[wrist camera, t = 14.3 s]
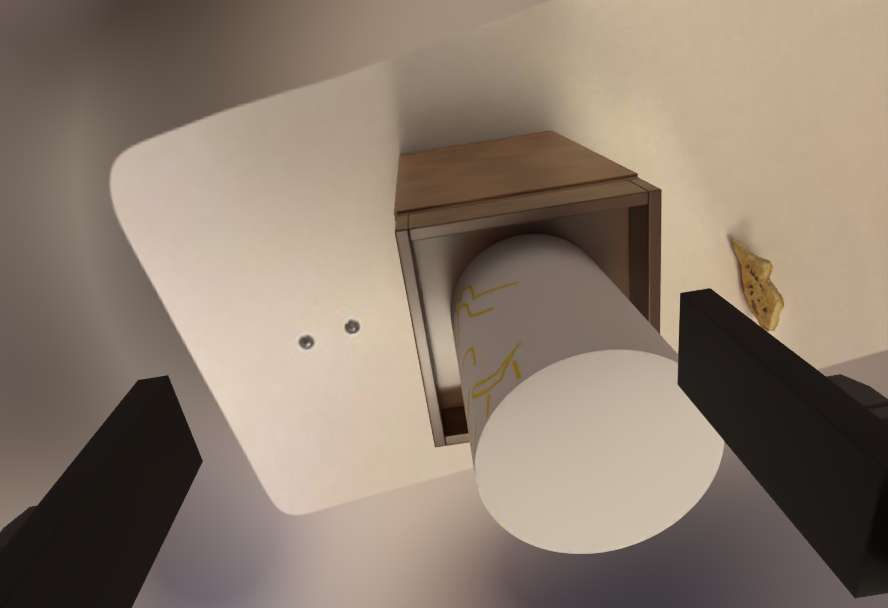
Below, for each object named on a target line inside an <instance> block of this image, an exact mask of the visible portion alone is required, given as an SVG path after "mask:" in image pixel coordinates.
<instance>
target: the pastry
mask: <svg viewBox="0 0 888 608" xmlns="http://www.w3.org/2000/svg"><path fill="white" fill-rule="evenodd" d="M733 246H734V250H735V253H736V256H737V258H738V260H739V262H740V264H741V267H742V280H743V285H744V294H745V296H746V298H747V301H748V303H749V307H750V308H751V310H752V312H753V314H754V316H755V317H756V319H757V320H758V322H759V324H760V326H761V328H763V329H764V330H766V331H774V330H775V328H776V327H777V326H778V323H779V320H780V313H781V310H782V309H783V306H784V301H783V298H782V295H781V294H780V293H779V292H778V290H777V288H776V287H775V285H774V284H773V283H772V282H771V281H770V278H769V276H770V275H771V272H772V269H773V266H772V263H771V262H770V261H769V260H766V259H763V258H760V257H758V256H757V255H755V254H753V253H751V252H749V251H748V250H747V249H746V248H745V247H744V246H743V245H742V244H741V243H740V242H739V241H737V240H735V239H734V240H733Z"/></svg>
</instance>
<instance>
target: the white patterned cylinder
mask: <svg viewBox="0 0 888 608" xmlns="http://www.w3.org/2000/svg"><path fill="white" fill-rule="evenodd" d="M451 323H452V330H453V336H454V343H455V349H456V355H457V362H458V368H459V375H460V381H461V388H462V394H463V401H464V407H465V413H466V420H467V426H468V433H469V439H470V446H471V452H472V458H473V465H474V471H475V478H476V483H477V488H478V491H479V494H480V497H481V499H482V501H483V503H484V505H485V507H486V508H487V510H488V511H489V513H490V514H491V516H492V517H493V518H494V519H495V520H496V521H497V522H498V523H499V524H500V525H501V526H502V527H503V528H504V529H505V530H507V531H508V532H509V533H511V534H512V535H514V536H515V537H517V538H519V539H521V540H522V541H525V542H526V543H529V544H531V545H534V546H536V547H539V548H543V549H546V550H550V551H556V552H562V553H573V554H575V553H576V554H589V553H600V552H607V551H612V550H616V549H620V548H624V547H627V546H630V545H633V544H636V543H639V542H641V541H644V540H646V539H648V538H650V537H652V536H654V535H656V534H658V533H660V532H661V531H663V530H665V529H666V528H668V527H669V526H671V525H672V524H674V523H675V522H676V521H677V520H679V519H680V518H681V517H683V516H684V515H685V514H686V513H687V512H688V511H689V510H690V509H691V508H692V507H693V506H694V505H695V504H696V503H697V502H698V501H699V500H700V498H701V497H702V496H703V494H704V493H705V492H706V490H707V489H708V487H709V486H710V484H711V482H712V480H713V478H714V476H715V474H716V472H717V470H718V467H719V465H720V461H721V458H722V453H723V448H724V440H723V439H722V438H721V436H720V435H719V434H718V433H717V432H716V430H715V429H714V428H713V427H712V426H711V424H710V423H709V422H708V421H707V420H706V418H705V417H704V416H703V415H702V414H701V412H700V411H699V410H698V409H697V408H696V406H695V405H694V404H693V403H692V402H691V400H690V399H689V398H688V397H687V396H686V394H685V393H684V392H683V391H682V390H681V388H680V387H679V386H678V385H677V382H678V354H677V353H676V352H675V351H674V349H673V348H672V347H671V346H670V345H669V344H668V343H667V342H666V341H665V340H664V338H663V337H662V336H661V335H660V334H659V333H658V332H657V331H656V330H655V328H654V327H653V326H652V325H651V324H650V323H649V322H648V321H647V320H646V319H645V317H644V316H643V315H642V314H641V313H640V312H639V311H638V310H637V309H636V307H635V306H634V305H633V304H632V303H631V302H630V301H629V300H628V299H627V297H626V296H625V295H624V294H623V293H622V292H621V291H620V290H619V289H618V288H617V286H616V285H615V284H614V283H613V282H612V281H611V280H610V279H609V278H608V276H607V275H606V274H605V273H604V272H603V271H602V270H601V269H600V268H599V267H598V265H597V264H596V263H595V262H594V261H593V260H592V259H591V258H590V257H589V256H588V255H587V254H586V253H585V252H584V251H583V250H582V249H580V248H579V247H578V246H576V245H575V244H573V243H571V242H569V241H567V240H564V239H562V238H559V237H555V236H551V235H544V234H526V235H519V236H514V237H511V238H507V239H505V240H502V241H500V242H498V243H496V244H494V245H492V246H490V247H488V248H487V249H485V250H484V251H483V252H481V253H480V254H479V255H478V256H477V257H475V258H474V259H473V260H472V261H471V262H470V264H469V265H468V266H467V267H466V268H465V270H464V271H463V273H462V274H461V276H460V278H459V280H458V282H457V284H456V286H455V289H454V292H453V296H452V300H451Z"/></svg>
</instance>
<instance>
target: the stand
mask: <svg viewBox="0 0 888 608" xmlns="http://www.w3.org/2000/svg"><path fill="white" fill-rule="evenodd" d="M633 176H636V177H638V174H637V173H635V172H633V171H631V170H629V169H627V168H625V167H623V166H621V165H619V164H617V163H615V162H613V161H611V160H609V159H607V158H605V157H603V156H601V155H599V154H597V153H595V152H594V151H592V150H590V149H588V148H586V147H584V146H582V145H580V144H578V143H576V142H574V141H572V140H570V139H568V138H566V137H564V136H562V135H560V134H558V133H556V132H554V131H546V132H540V133H534V134H527V135H521V136H515V137H508V138H502V139H496V140H489V141H483V142H477V143H470V144H464V145H457V146H451V147H445V148H438V149H432V150H426V151H419V152H413V153H407V154H400V158H399V168H398V178H397V188H396V197H395V207H394V215H395V221H396V215H397V214H398V213H404V212H410V211H416V210H423V209H429V208H436V207H442V206H448V205H455V204H461V203H468V202H474V201H480V200H487V199H493V198H499V197H506V196H512V195H519V194H525V193H531V192H538V191H544V190H550V189H557V188H563V187H570V186H576V185H582V184H589V183H595V182H601V181H608V180H614V179H621V178H627V177H633Z"/></svg>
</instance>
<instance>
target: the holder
mask: <svg viewBox="0 0 888 608" xmlns="http://www.w3.org/2000/svg"><path fill="white" fill-rule="evenodd" d="M526 234H544V235H551V236H555V237H559V238H562V239H564V240H567V241H569V242H571V243H573V244H575V245H576V246H578V247H579V248H580V249H582V250H583V251H584V252H585V253H586V254H587V255H588V256H589V257H590V258H591V259H592V260H593V261H594V262H595V263H596V264H597V265H598V267H599V268H600V269H601V270H602V271H603V272H604V273H605V274H606V275H607V276H608V278H609V279H610V280H611V281H612V282H613V283H614V284H615V285H616V286H617V288H618V289H619V290H620V291H621V292H622V293H623V294H624V295H625V296H626V297H627V299H628V300H629V301H630V302H631V303H632V304H633V305H634V306H635V307H636V309H637V310H638V311H639V312H640V313H641V314H642V315H643V316H644V317H645V319H646V320H647V321H648V322H649V323H650V324H651V325H652V326H653V327H654V328H655V330H656V331H657V332H658V333H659V334H660V281H661V189H659V188H657V187H655V186H654V185H652V184H650V183H648V182H646V181H644V180H642V179H640V178H638V177H636V176H633V177H627V178H621V179H614V180H608V181H601V182H595V183H589V184H582V185H576V186H570V187H563V188H557V189H550V190H544V191H538V192H531V193H525V194H519V195H512V196H506V197H499V198H493V199H487V200H480V201H474V202H468V203H461V204H455V205H448V206H442V207H436V208H429V209H423V210H416V211H410V212H404V213H398V214H397V215H396V225H395V235H396V241H397V246H398V252H399V257H400V262H401V268H402V273H403V278H404V284H405V289H406V294H407V300H408V305H409V310H410V316H411V321H412V327H413V332H414V337H415V343H416V348H417V353H418V359H419V364H420V369H421V375H422V380H423V386H424V391H425V396H426V402H427V407H428V412H429V418H430V423H431V428H432V434H433V439H434V444H435V447H441V446H446V445H447V446H448V445H455V444H461V443H468V442H470V439H469V433H468V426H467V420H466V413H465V407H464V401H463V394H462V388H461V381H460V375H459V368H458V362H457V355H456V349H455V343H454V336H453V330H452V323H451V300H452V296H453V292H454V289H455V286H456V284H457V282H458V280H459V278H460V276H461V274H462V273H463V271H464V270H465V268H466V267H467V266H468V265H469V264H470V262H471V261H472V260H473V259H474V258H475V257H477V256H478V255H479V254H480V253H481V252H483V251H484V250H485V249H487V248H488V247H490V246H492V245H494V244H496V243H498V242H500V241H502V240H505V239H507V238H511V237H514V236H519V235H526Z"/></svg>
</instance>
